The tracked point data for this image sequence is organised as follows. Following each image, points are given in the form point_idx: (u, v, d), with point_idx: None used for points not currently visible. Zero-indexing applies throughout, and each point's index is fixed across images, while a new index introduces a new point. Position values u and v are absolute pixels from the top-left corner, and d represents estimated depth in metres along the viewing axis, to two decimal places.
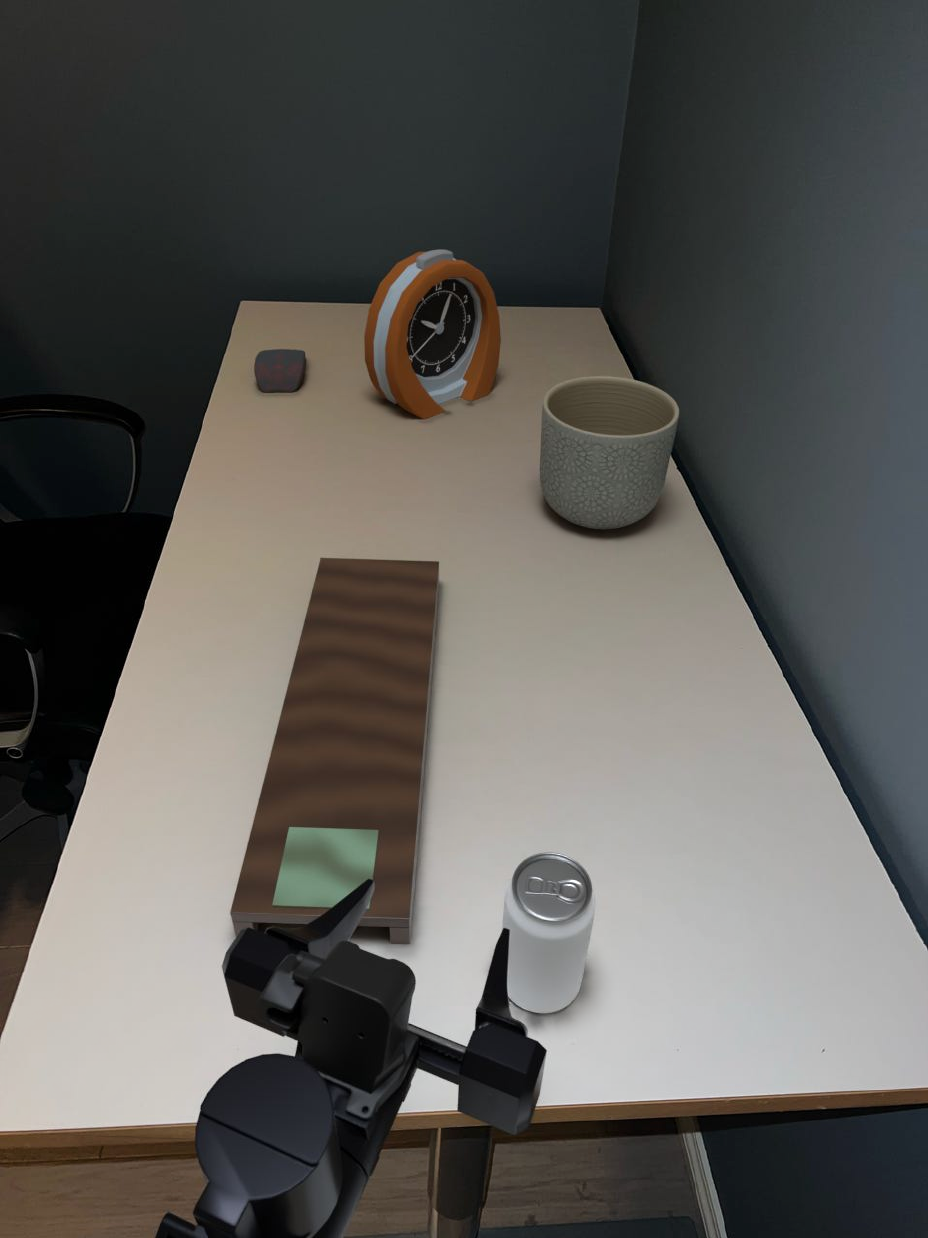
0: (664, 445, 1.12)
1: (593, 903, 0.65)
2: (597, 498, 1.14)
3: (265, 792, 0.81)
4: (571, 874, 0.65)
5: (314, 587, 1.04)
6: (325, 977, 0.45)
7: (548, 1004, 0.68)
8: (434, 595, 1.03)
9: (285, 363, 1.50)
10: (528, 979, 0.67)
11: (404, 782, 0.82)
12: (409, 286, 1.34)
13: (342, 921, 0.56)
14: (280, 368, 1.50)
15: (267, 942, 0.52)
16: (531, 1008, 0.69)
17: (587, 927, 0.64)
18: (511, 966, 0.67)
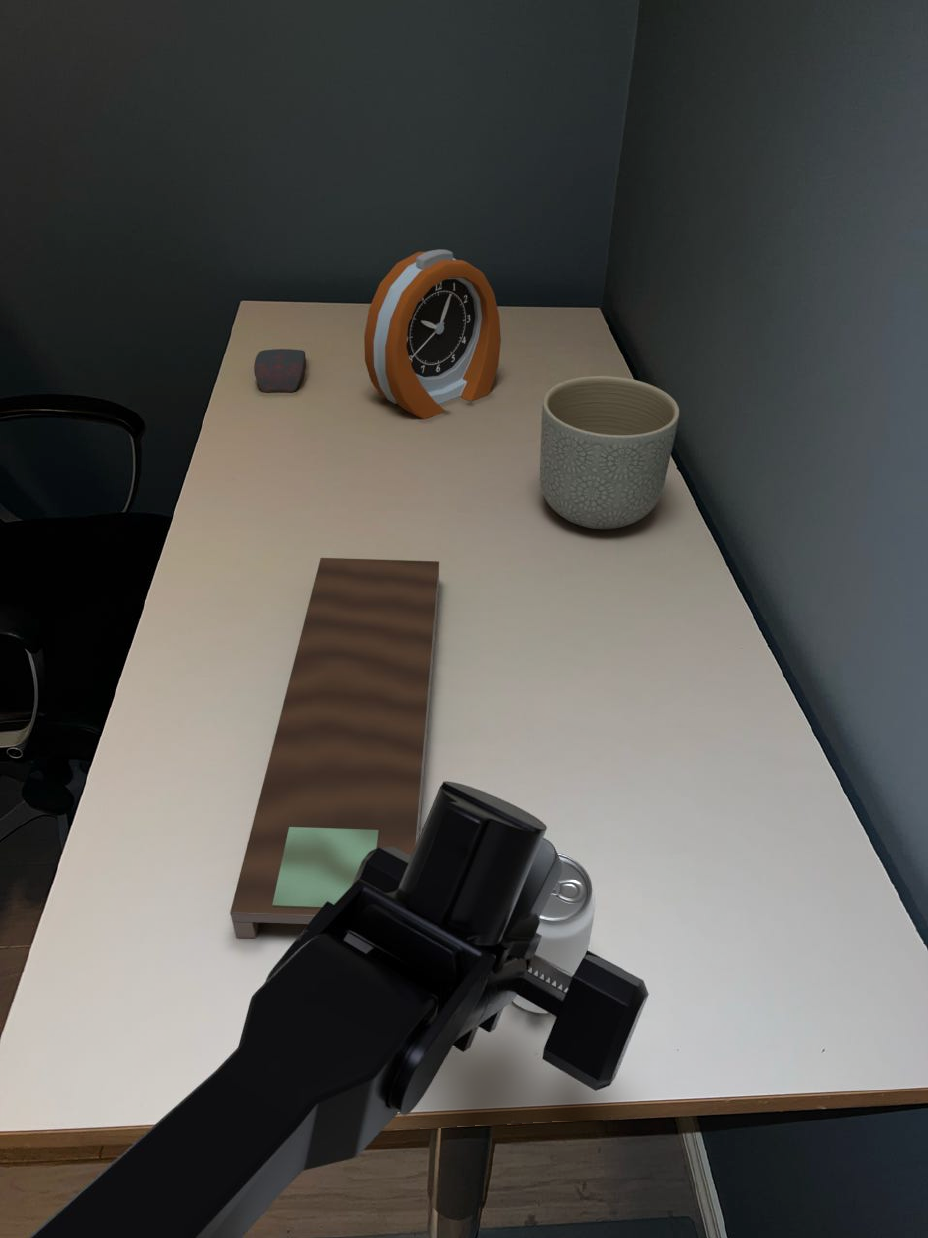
0: (664, 445, 1.12)
1: (593, 903, 0.65)
2: (597, 498, 1.14)
3: (265, 792, 0.81)
4: (571, 874, 0.65)
5: (314, 587, 1.04)
6: None
7: None
8: (434, 595, 1.03)
9: (285, 363, 1.50)
10: None
11: (404, 782, 0.82)
12: (409, 286, 1.34)
13: None
14: (280, 368, 1.50)
15: (407, 856, 0.59)
16: (531, 1008, 0.69)
17: (587, 927, 0.64)
18: None
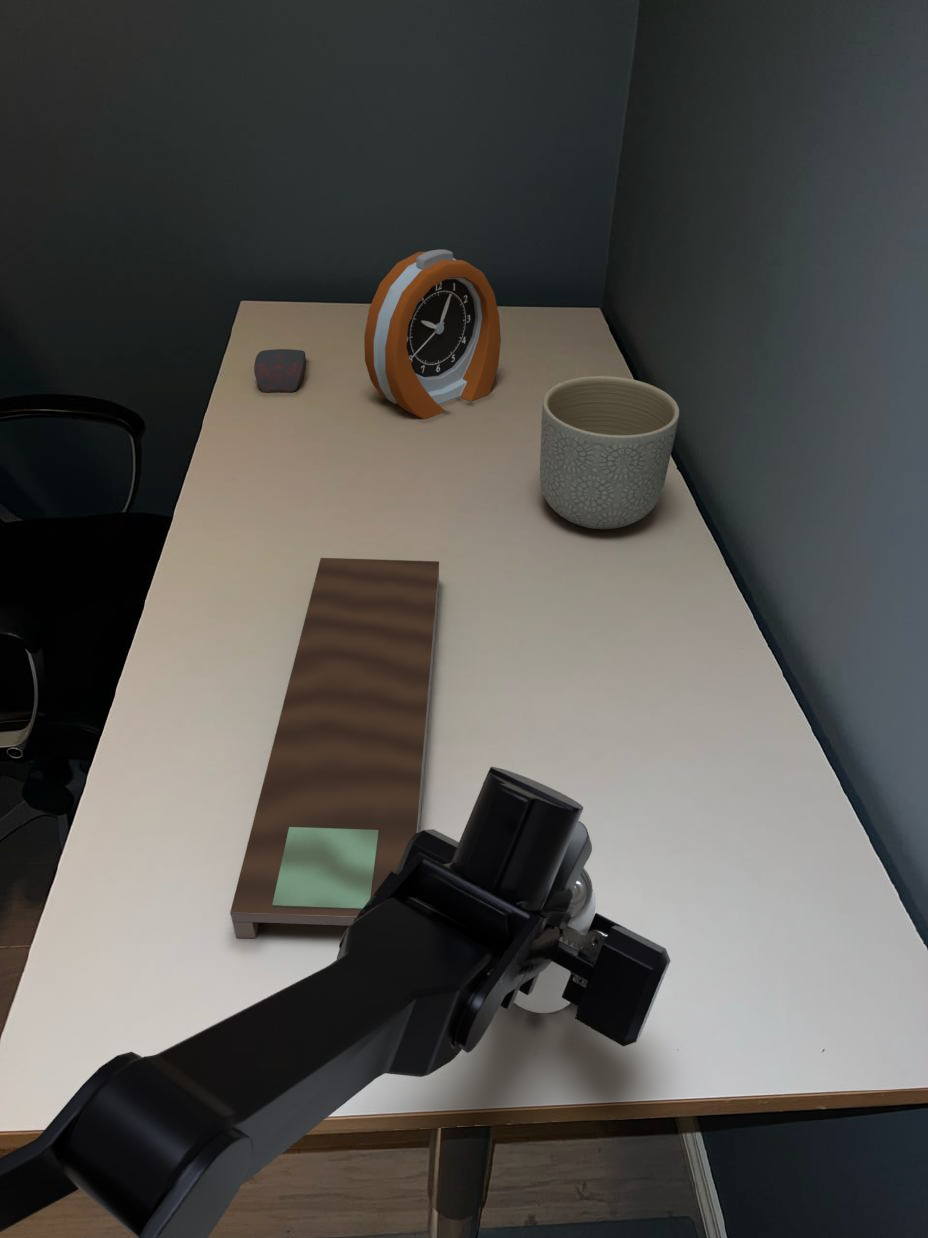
0: (664, 445, 1.12)
1: (593, 903, 0.65)
2: (597, 498, 1.14)
3: (265, 792, 0.81)
4: None
5: (314, 587, 1.04)
6: None
7: (548, 1004, 0.68)
8: (434, 595, 1.03)
9: (285, 363, 1.50)
10: None
11: (404, 782, 0.82)
12: (409, 286, 1.34)
13: None
14: (280, 368, 1.50)
15: (449, 839, 0.64)
16: (531, 1008, 0.69)
17: (587, 927, 0.64)
18: None
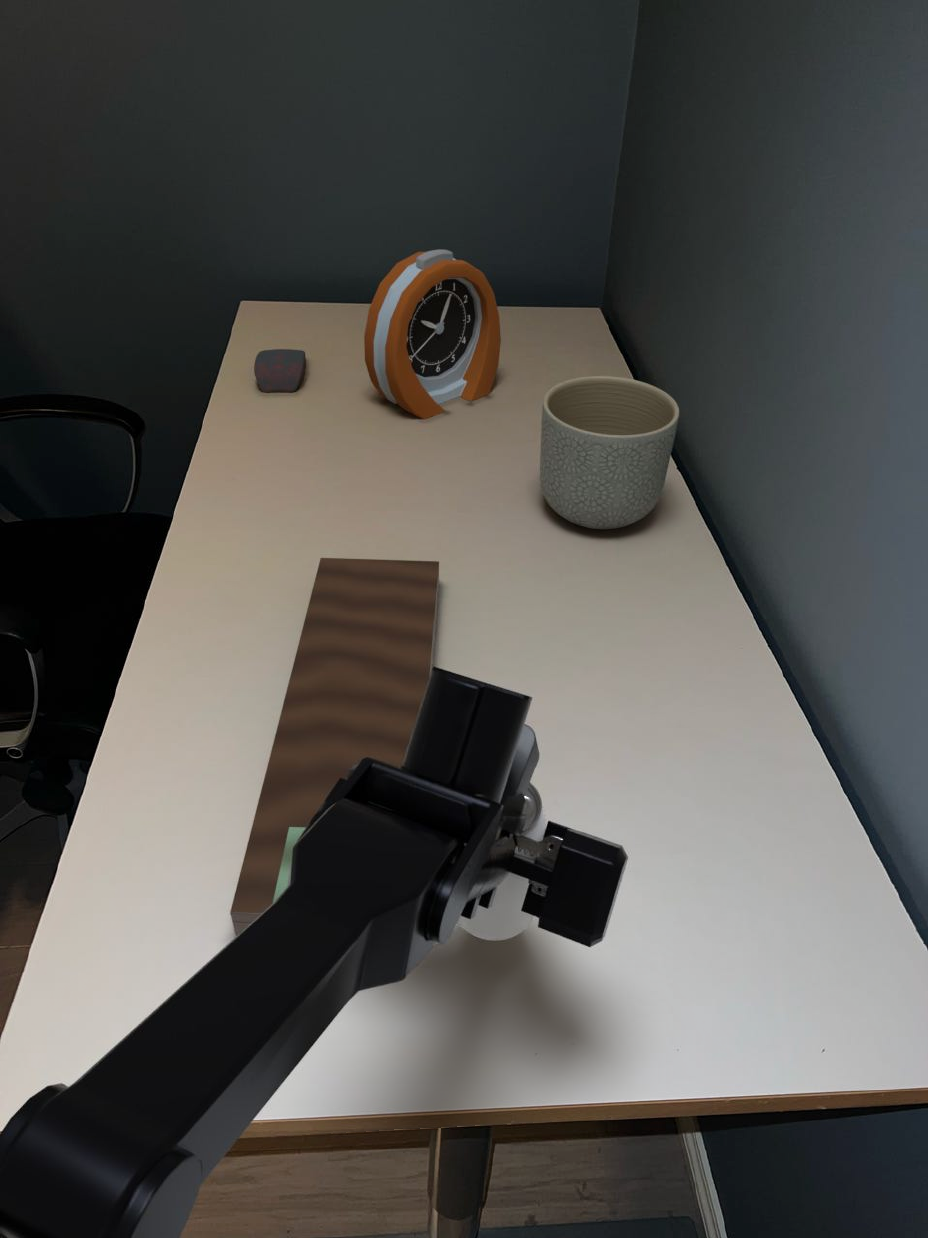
0: (664, 445, 1.12)
1: (543, 816, 0.63)
2: (597, 498, 1.14)
3: (265, 792, 0.81)
4: None
5: (314, 587, 1.04)
6: None
7: (505, 930, 0.67)
8: (434, 595, 1.03)
9: (285, 363, 1.50)
10: None
11: None
12: (409, 286, 1.34)
13: None
14: (280, 368, 1.50)
15: None
16: (488, 936, 0.67)
17: (540, 840, 0.63)
18: None
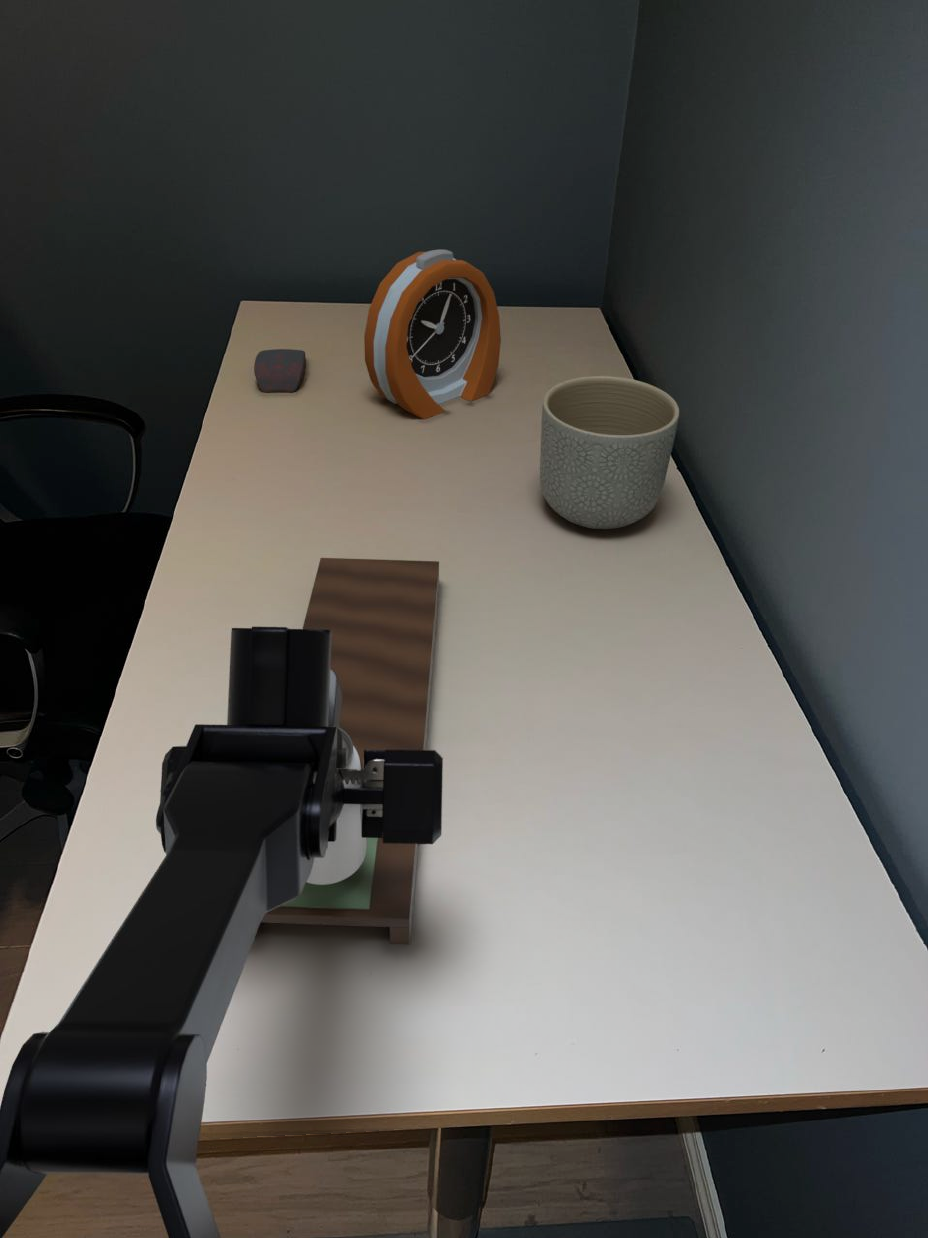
0: (664, 445, 1.12)
1: (355, 751, 0.68)
2: (597, 498, 1.14)
3: None
4: None
5: (314, 587, 1.04)
6: None
7: (346, 868, 0.71)
8: (434, 595, 1.03)
9: (285, 363, 1.50)
10: None
11: None
12: (409, 286, 1.34)
13: None
14: (280, 368, 1.50)
15: None
16: (331, 879, 0.71)
17: None
18: None
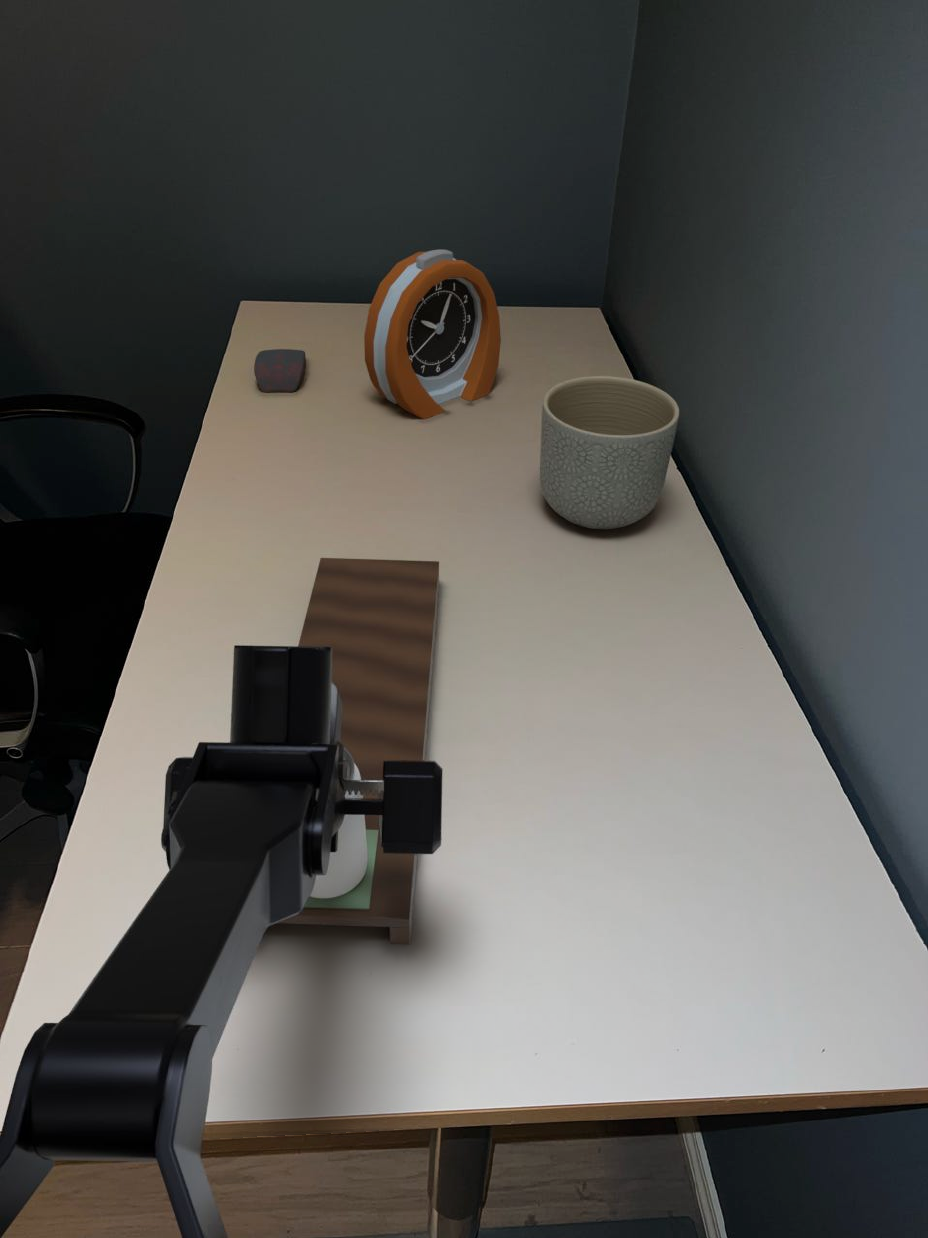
0: (664, 445, 1.12)
1: (356, 768, 0.69)
2: (597, 498, 1.14)
3: None
4: None
5: (314, 587, 1.04)
6: None
7: (347, 882, 0.72)
8: (434, 595, 1.03)
9: (285, 363, 1.50)
10: None
11: None
12: (409, 286, 1.34)
13: None
14: (280, 368, 1.50)
15: None
16: (333, 893, 0.72)
17: None
18: None
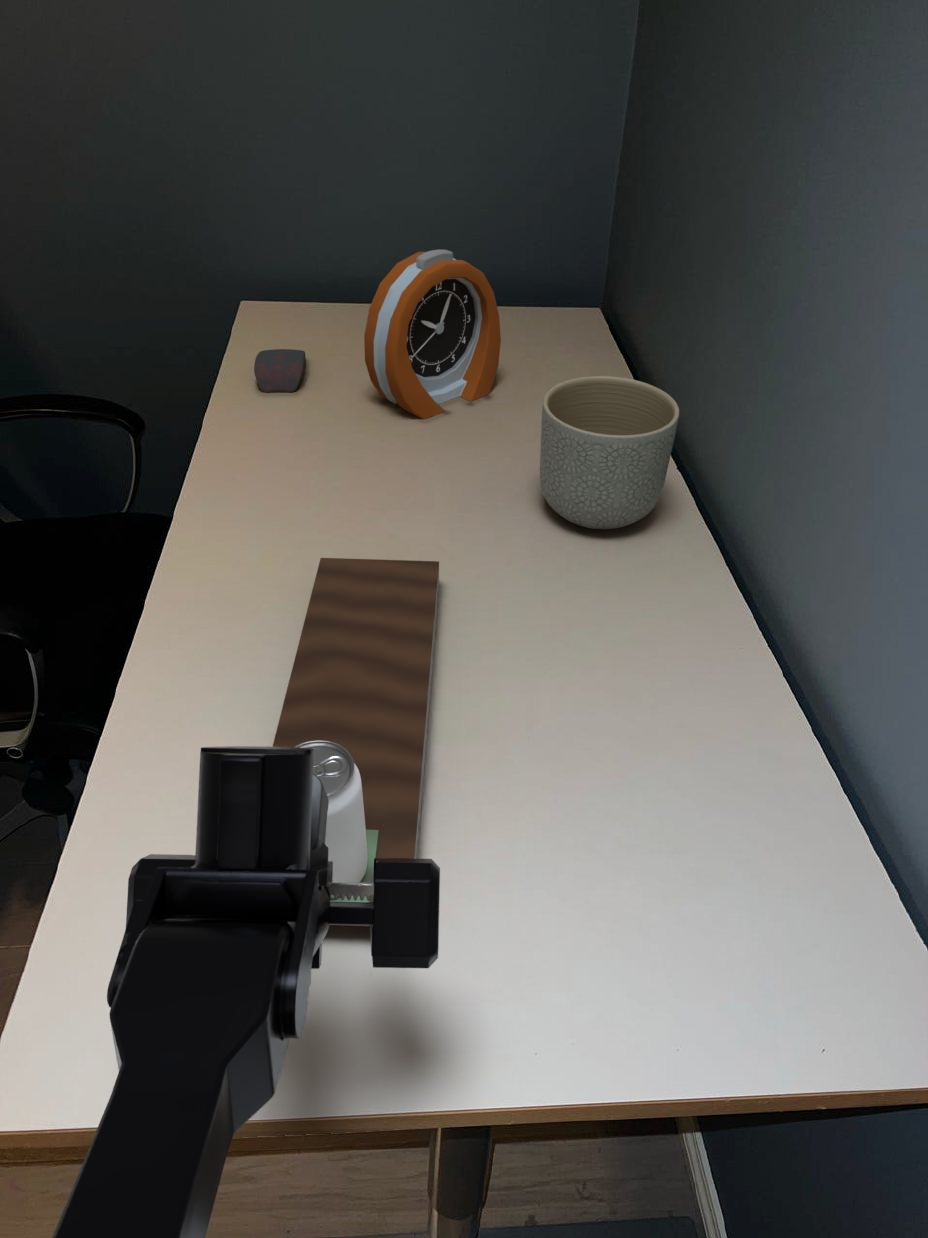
0: (664, 445, 1.12)
1: (356, 768, 0.69)
2: (597, 498, 1.14)
3: None
4: (328, 753, 0.69)
5: (314, 587, 1.04)
6: None
7: None
8: (434, 595, 1.03)
9: (285, 363, 1.50)
10: None
11: (404, 782, 0.82)
12: (409, 286, 1.34)
13: None
14: (280, 368, 1.50)
15: (172, 855, 0.57)
16: None
17: (360, 790, 0.68)
18: None
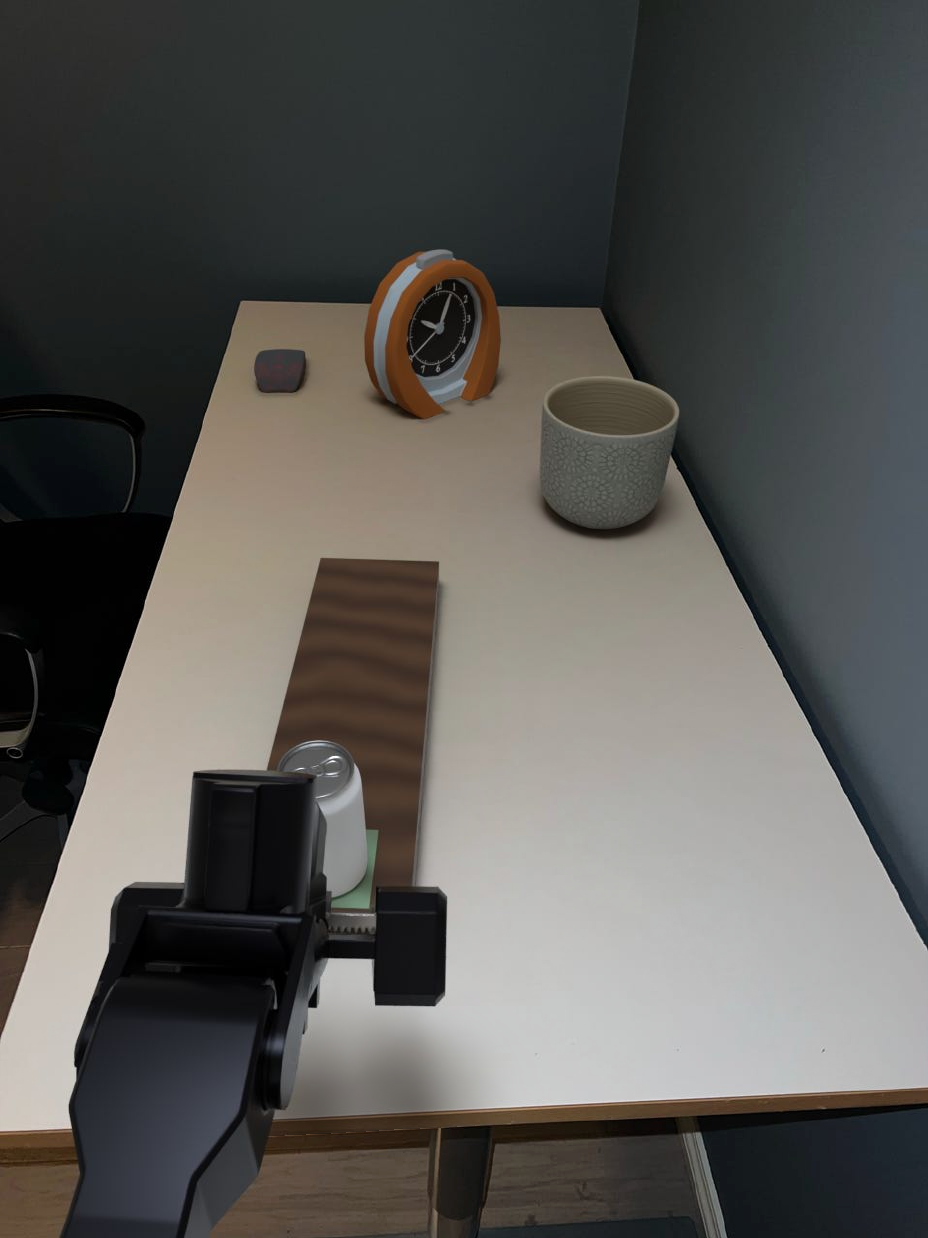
0: (664, 445, 1.12)
1: (356, 768, 0.69)
2: (597, 498, 1.14)
3: None
4: (328, 753, 0.69)
5: (314, 587, 1.04)
6: None
7: (347, 882, 0.72)
8: (434, 595, 1.03)
9: (285, 363, 1.50)
10: None
11: (404, 782, 0.82)
12: (409, 286, 1.34)
13: None
14: (280, 368, 1.50)
15: (159, 883, 0.53)
16: (333, 893, 0.72)
17: (360, 790, 0.68)
18: None
